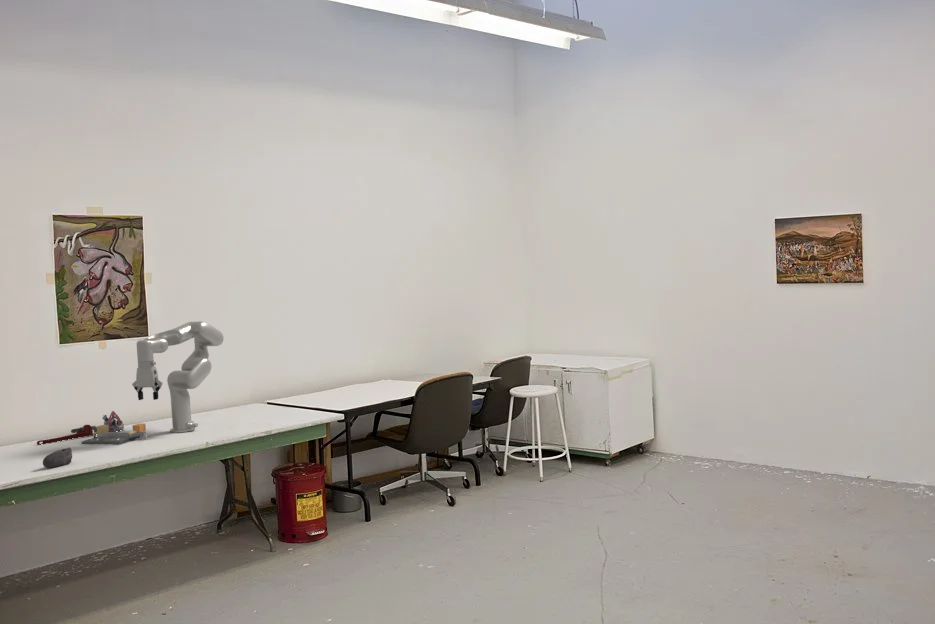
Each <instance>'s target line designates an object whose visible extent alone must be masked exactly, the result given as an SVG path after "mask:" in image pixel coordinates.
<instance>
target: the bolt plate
mask: <svg viewBox="0 0 935 624" xmlns="http://www.w3.org/2000/svg"><path fill="white" fill-rule="evenodd" d="M96 427H97V432H94V431H93V436H92V438H88V439H86V440H82V441H80V442H81V444H113V445H124V444H126V443H129V442H132V441H134V440H138V439H140V440H142V441H143V440H146V439H147V432H146V431H142V432H136V433H132V434H131V438H129V434H128V433H129V432H130V431H119V432H109V427H108V425H104V424H102V425H101V424H100V425H97V426H96ZM96 434H97V435H96Z"/></svg>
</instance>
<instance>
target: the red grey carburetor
mask: <svg viewBox="0 0 935 624" xmlns="http://www.w3.org/2000/svg"><path fill="white" fill-rule="evenodd" d="M101 419H102V420H104V421H103V425H108V427H109V432H116V431H119V432H121V431H120V430H122V431H124V430H123V429H125V424H124V423H123V420H121V418H120V416H119V415H118V414H117V413H116V412H115V411H114V410H112V411H111V413H110V414H109V417H108V415H107V414H105V415H104V414H103V415H102V418H101Z"/></svg>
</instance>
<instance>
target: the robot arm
mask: <svg viewBox="0 0 935 624" xmlns="http://www.w3.org/2000/svg"><path fill="white" fill-rule="evenodd" d="M191 339H193V341H194V350H193V351H192V353H191V354H190V355H189V356H188V357H187V358H186V360H184V361H183V363H182V364H181V370H174V371H171V372H170V373H169V374H168V376H167V377H166V378H167V379H166V381H167V387H168V389H169V394H170V408H171V419H172V420H171V422H172V423H171V424H172V428H170V429H169V432H170V433H175V434H176V433H177V434H178V433H180V434H181V433H188V432H192V431H195V429H196V428H198V426H199V423H194V421H193V420H192V415H191V414H192V410H191V396H190V393H189V390H194V389H196V388H198V387H199V386H200V384H202V383H203V382H204V380H205V379H206V378H207V377H208V376H209V374H210V373H211V371H212V362H211V361H210V359H209V351H208V350H209V349H208V347H219V346H221V345H222V344H223V342H224V339H225V338H224V335H223V333H222V332H221V331H220V330H219V329H217V328H216V327H215V326H213V325H211V324H209V323H208V322H205V321H201V320H199V321H189V322H186V323H183V324H181V325H180V326H177V327H175V328H172V329H168V330H165V331H163V332H162V331H161V332H158V333H156V334H153V335H150V336H147V337H145V338H143V339H141V340H138V341H137V342H136V354H137V356H136V357H137V367H136V368H137V369H136V376H135V378H136V379H135V380H134V381H133V382H132V383H131V386H132V387H133V388H134V390H135V392H136V393H137V398H138V401H141V400H142V401H143V400H144V391H143V389H144V388H151V389H152V398H153V399H152V400H154V401H157V400H158V399H159V392H160V389H161V388H162V386H163V381H161V380H159V373H158V369H157V366H156V365H157V364H156V361H155V359H154V358H155V357H154V354H162V353H165V352H166V351H167V350H168V349H169V347H171V346H176V345H181V344H182V343H185V342H187V341H189V340H191Z"/></svg>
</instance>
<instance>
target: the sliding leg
mask: <svg viewBox="0 0 935 624" xmlns="http://www.w3.org/2000/svg"><path fill="white" fill-rule="evenodd" d="M131 426H132V431H128V432H129V433H128V434H129V438H131V434H132V433H136V432H146V431H147V430H146V429H147V427H146V423H135V424H132V425H131Z"/></svg>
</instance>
